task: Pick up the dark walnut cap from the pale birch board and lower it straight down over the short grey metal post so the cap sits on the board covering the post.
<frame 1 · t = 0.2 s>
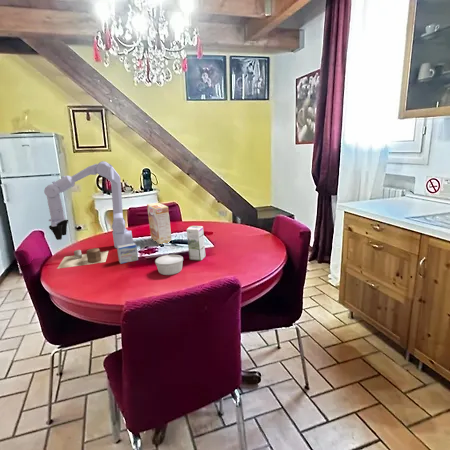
hand: (61, 237, 162), 10 cm above the table, tool pointing down, fingers open, 7 cm apart
medicine box: (129, 263, 149), on the table
walnut cap: (94, 260, 151), point 1 cm above the table, touching post board
post board: (85, 262, 154), on the table
ramekin: (170, 271, 138), on the table
syrup box: (197, 258, 150), on the table
coffeecake box: (161, 241, 180), on the table
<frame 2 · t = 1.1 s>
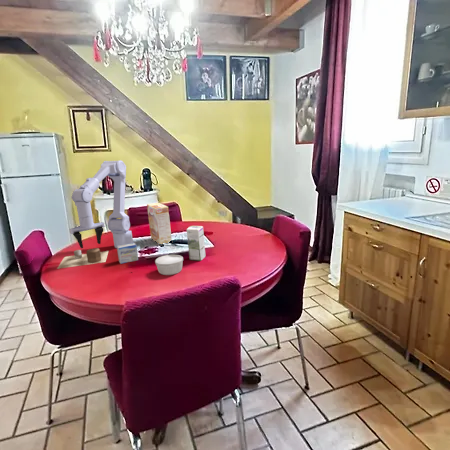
hand: (90, 245, 150), 8 cm above the table, tool pointing down, fingers open, 7 cm apart
nothing on the table moved.
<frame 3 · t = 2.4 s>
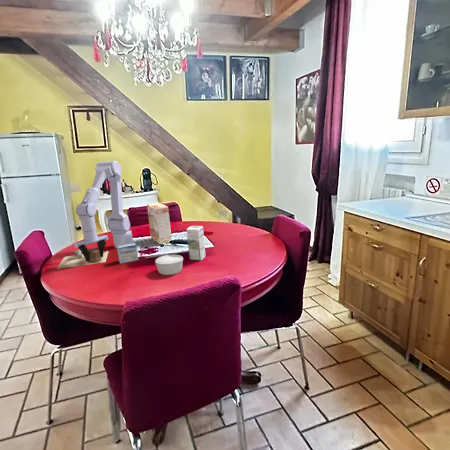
hand: (94, 258, 151), 2 cm above the table, tool pointing down, fingers closed on walnut cap, 6 cm apart
walnut cap: (94, 260, 151), point 1 cm above the table, touching gripper, post board
everything else where it was.
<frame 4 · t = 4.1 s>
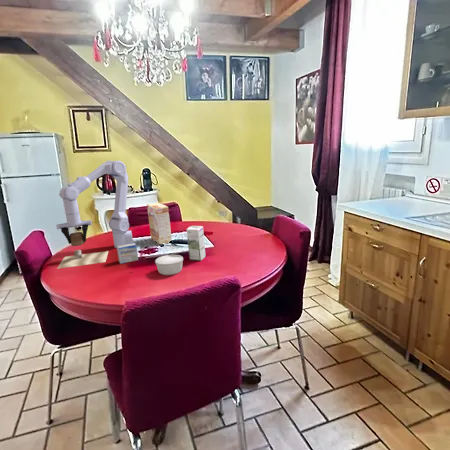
hand: (77, 242, 153), 9 cm above the table, tool pointing down, fingers closed on walnut cap, 6 cm apart
walnut cap: (78, 244, 154), point 9 cm above the table, touching gripper
everything else where it was.
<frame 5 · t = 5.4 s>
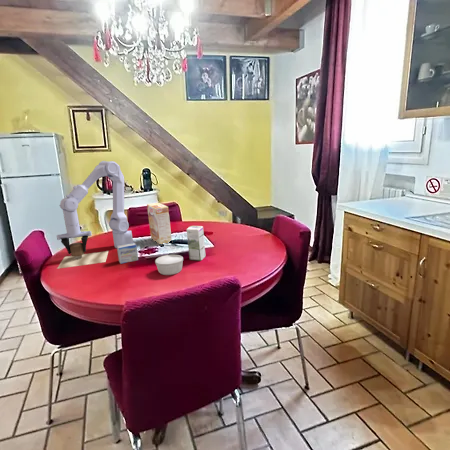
hand: (77, 252, 155), 4 cm above the table, tool pointing down, fingers closed on walnut cap, 6 cm apart
walnut cap: (77, 254, 156), point 3 cm above the table, touching gripper
everything else where it was.
when the fingers open (3 cm above the table, at t = 6.3 s): walnut cap stays where it is, resting on post board.
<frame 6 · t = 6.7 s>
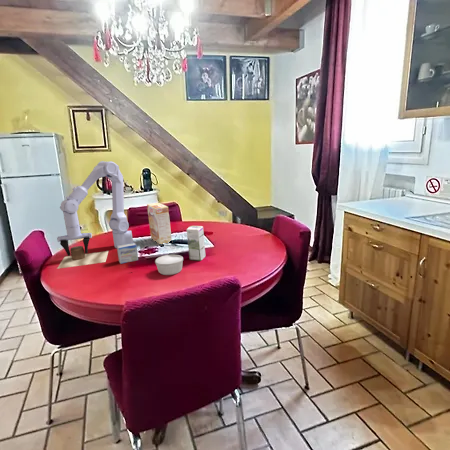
hand: (77, 254, 156), 3 cm above the table, tool pointing down, fingers open, 7 cm apart
walnut cap: (78, 258, 156), point 1 cm above the table, touching post board
everything else where it was.
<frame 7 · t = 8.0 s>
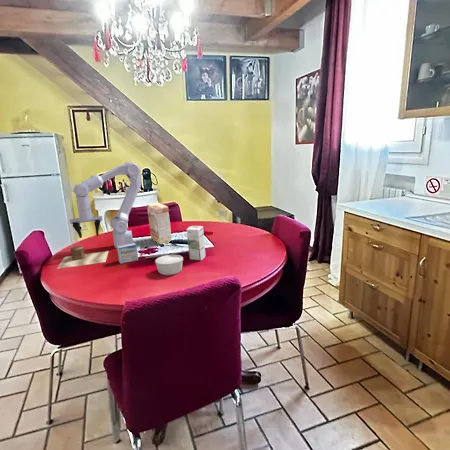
hand: (89, 236, 162), 9 cm above the table, tool pointing down, fingers open, 7 cm apart
nothing on the table moved.
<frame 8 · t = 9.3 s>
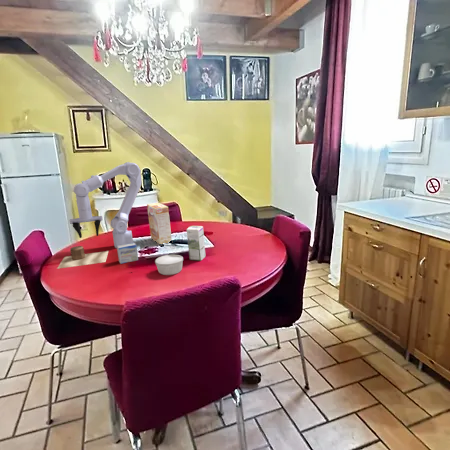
hand: (89, 236, 162), 9 cm above the table, tool pointing down, fingers open, 7 cm apart
nothing on the table moved.
at the end: walnut cap 0.1 cm from the target spot on the post board, point 1.5 cm above the post board's base; walnut cap tilted 0°; the gripper is holding nothing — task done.
